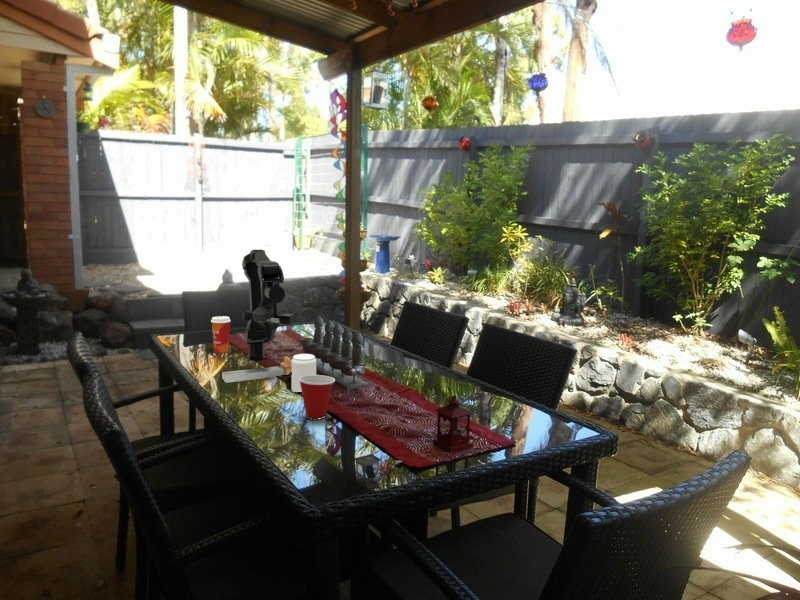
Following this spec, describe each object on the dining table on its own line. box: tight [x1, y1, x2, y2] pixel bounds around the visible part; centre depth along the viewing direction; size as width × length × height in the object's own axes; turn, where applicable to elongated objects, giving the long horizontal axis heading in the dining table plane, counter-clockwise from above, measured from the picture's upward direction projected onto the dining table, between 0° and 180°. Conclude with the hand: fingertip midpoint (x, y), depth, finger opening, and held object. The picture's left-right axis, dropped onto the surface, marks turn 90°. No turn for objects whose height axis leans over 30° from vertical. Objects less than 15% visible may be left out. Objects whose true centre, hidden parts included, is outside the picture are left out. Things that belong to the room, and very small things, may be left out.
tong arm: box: [221, 365, 280, 381], centre depth 232 cm, size 20×2×2 cm, turn 118°
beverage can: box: [291, 353, 317, 393], centre depth 217 cm, size 8×8×12 cm
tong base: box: [223, 366, 286, 384], centre depth 232 cm, size 5×24×2 cm, turn 119°
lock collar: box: [279, 356, 292, 375], centre depth 236 cm, size 7×2×5 cm, turn 29°
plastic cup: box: [299, 374, 336, 420], centre depth 194 cm, size 11×11×12 cm
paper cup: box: [210, 315, 232, 354], centre depth 264 cm, size 8×8×14 cm
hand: (270, 340), depth 235 cm, fingers closed
